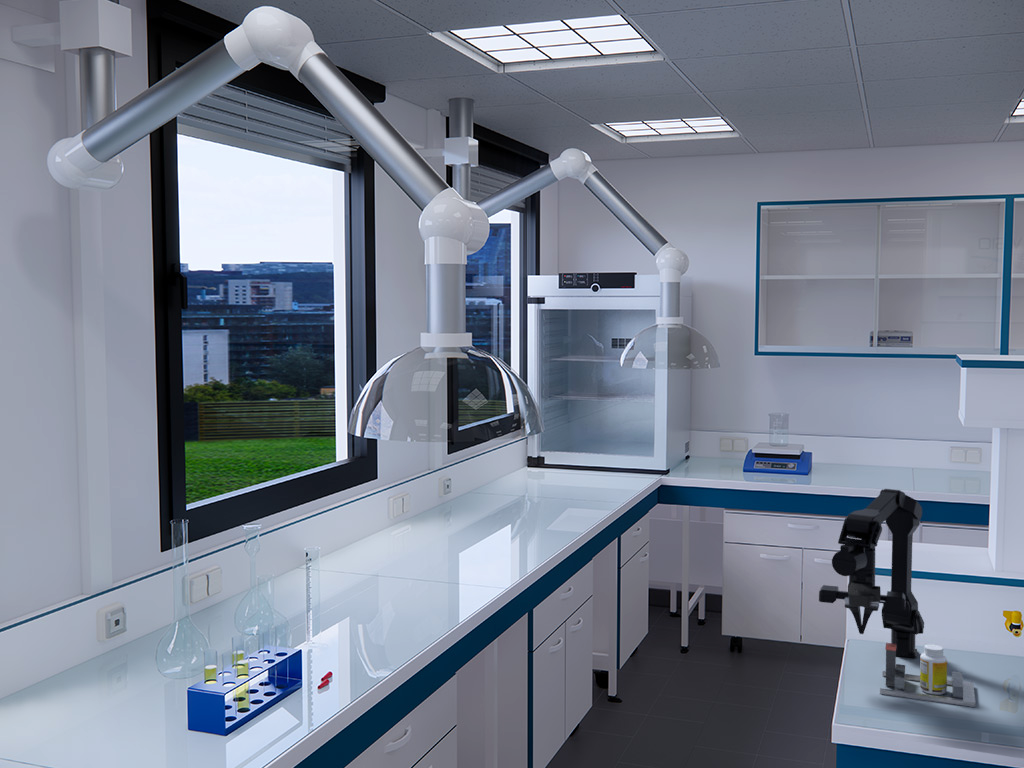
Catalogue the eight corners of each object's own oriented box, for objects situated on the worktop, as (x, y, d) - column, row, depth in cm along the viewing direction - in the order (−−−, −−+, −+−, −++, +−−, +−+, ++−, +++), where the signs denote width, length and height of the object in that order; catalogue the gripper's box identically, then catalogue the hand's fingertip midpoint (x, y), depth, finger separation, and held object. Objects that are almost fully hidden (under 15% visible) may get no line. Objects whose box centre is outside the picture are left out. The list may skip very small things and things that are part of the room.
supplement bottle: (950, 690, 212) (950, 646, 211) (941, 697, 208) (942, 652, 207) (924, 684, 215) (925, 641, 215) (916, 691, 211) (916, 647, 211)
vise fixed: (882, 674, 222) (882, 660, 222) (973, 686, 214) (973, 671, 214) (879, 693, 210) (880, 678, 210) (975, 707, 202) (975, 691, 202)
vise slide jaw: (886, 677, 220) (886, 638, 219) (905, 679, 218) (905, 640, 218) (884, 690, 211) (884, 650, 211) (904, 693, 210) (904, 652, 209)
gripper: (816, 572, 213) (816, 638, 214) (904, 579, 206) (903, 649, 206) (821, 561, 223) (821, 625, 224) (905, 568, 216) (905, 634, 216)
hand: (861, 633), depth 217 cm, fingers closed
